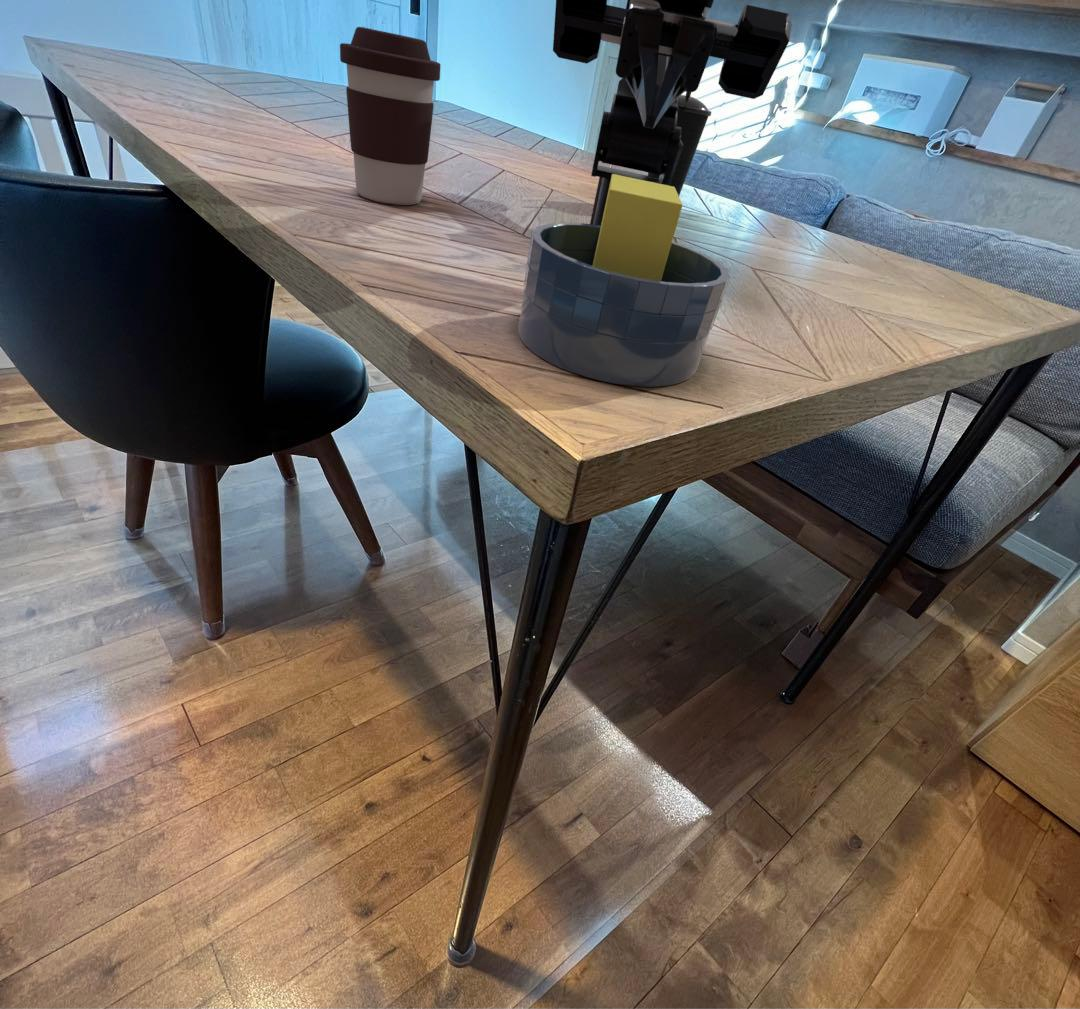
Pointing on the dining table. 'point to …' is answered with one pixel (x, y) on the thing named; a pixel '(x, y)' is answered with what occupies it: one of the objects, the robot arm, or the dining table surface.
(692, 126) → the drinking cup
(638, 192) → the sponge
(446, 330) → the dining table surface
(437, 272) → the dining table surface
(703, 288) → the bowl
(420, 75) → the coffee cup
